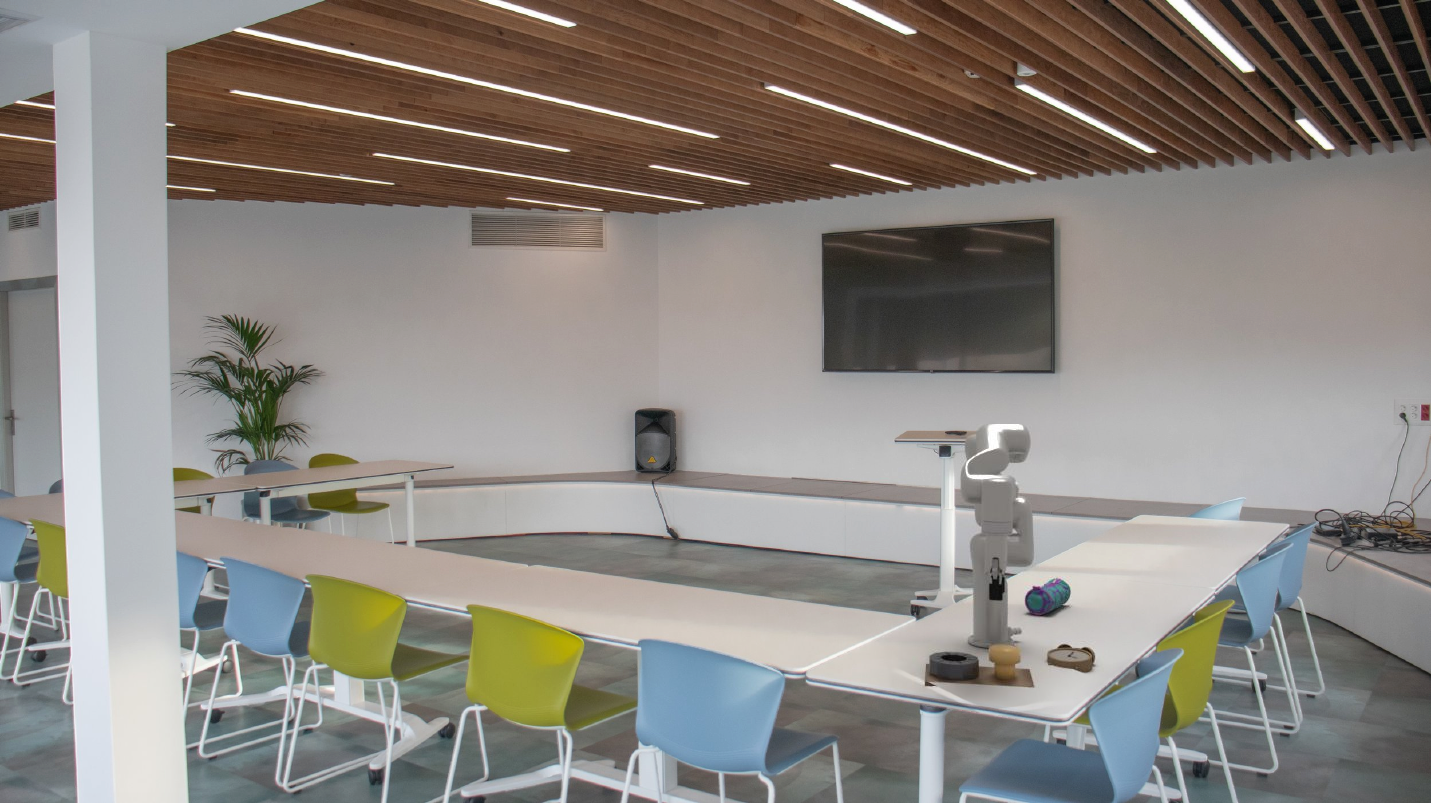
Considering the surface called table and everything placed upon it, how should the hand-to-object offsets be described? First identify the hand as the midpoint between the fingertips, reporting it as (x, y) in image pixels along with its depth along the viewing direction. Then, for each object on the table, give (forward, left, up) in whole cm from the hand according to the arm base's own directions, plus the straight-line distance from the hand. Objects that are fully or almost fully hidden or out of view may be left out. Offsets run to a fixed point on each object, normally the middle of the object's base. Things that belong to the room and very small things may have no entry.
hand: (997, 596), depth 259 cm
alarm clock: (-27, -5, -22) cm, 35 cm away
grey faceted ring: (+8, -7, -20) cm, 23 cm away
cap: (-2, 0, -20) cm, 20 cm away
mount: (+3, -4, -22) cm, 22 cm away
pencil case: (-65, -59, -22) cm, 90 cm away
